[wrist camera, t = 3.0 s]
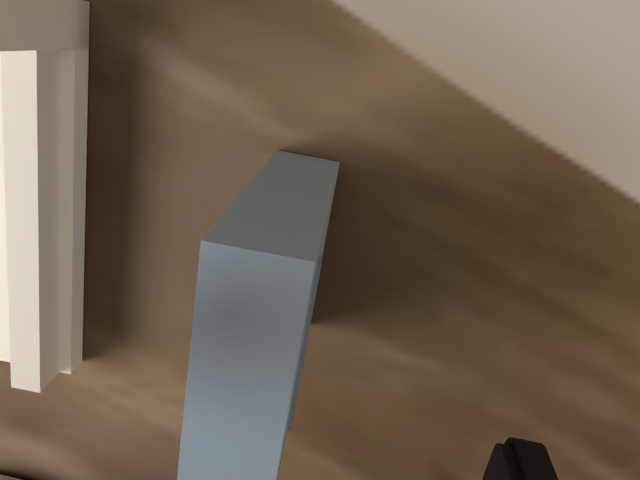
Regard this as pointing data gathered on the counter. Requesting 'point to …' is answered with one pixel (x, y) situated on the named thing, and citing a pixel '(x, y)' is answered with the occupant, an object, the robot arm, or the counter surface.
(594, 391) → the counter surface
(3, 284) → the door sill
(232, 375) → the door panel
